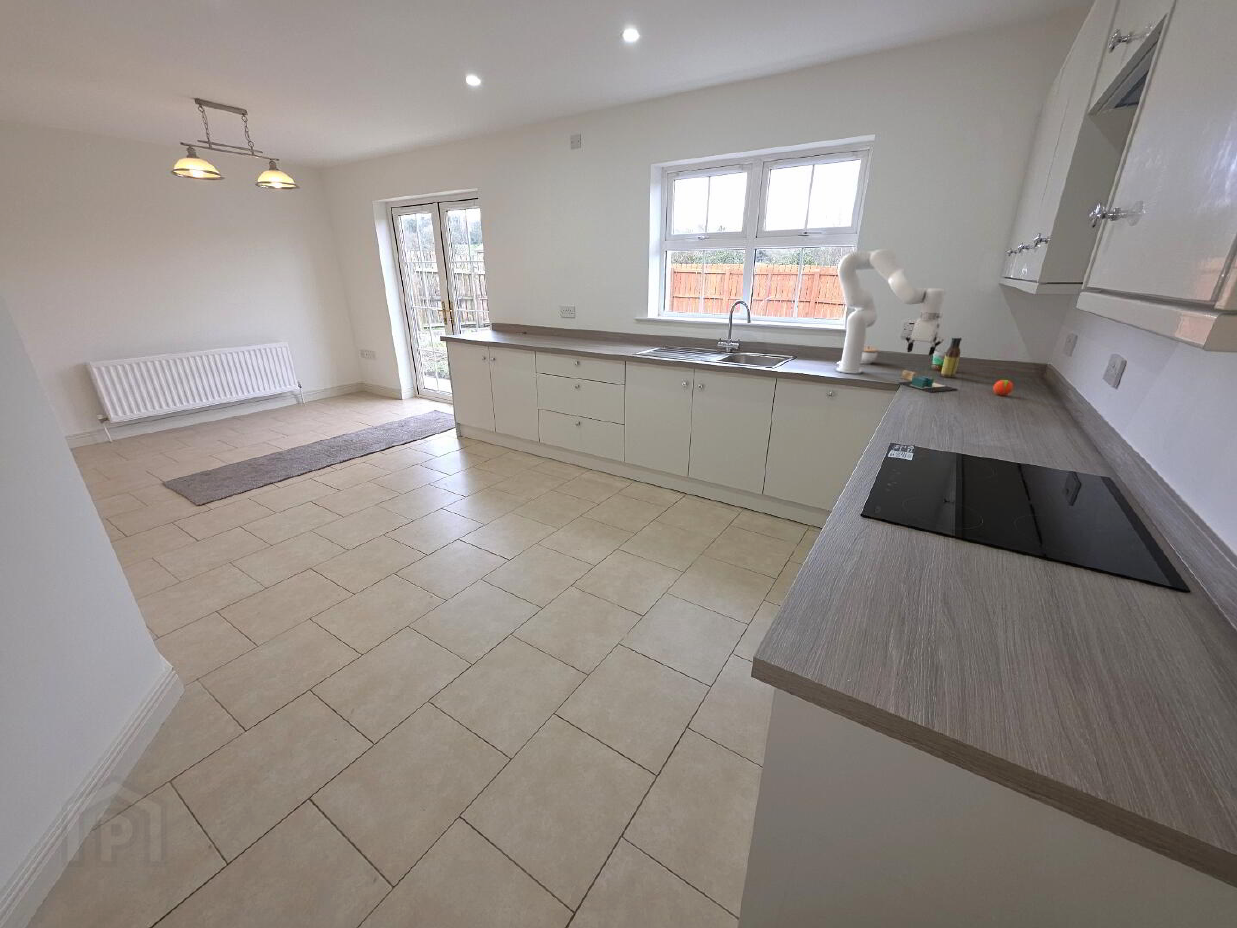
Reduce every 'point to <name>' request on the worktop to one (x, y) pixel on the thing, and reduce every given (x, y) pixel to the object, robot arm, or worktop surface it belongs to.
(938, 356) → the food container
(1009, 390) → the tomato
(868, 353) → the trinket box
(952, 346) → the sauce bottle
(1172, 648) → the worktop surface
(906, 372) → the letter I
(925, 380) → the letter H
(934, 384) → the word mat
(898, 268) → the robot arm
